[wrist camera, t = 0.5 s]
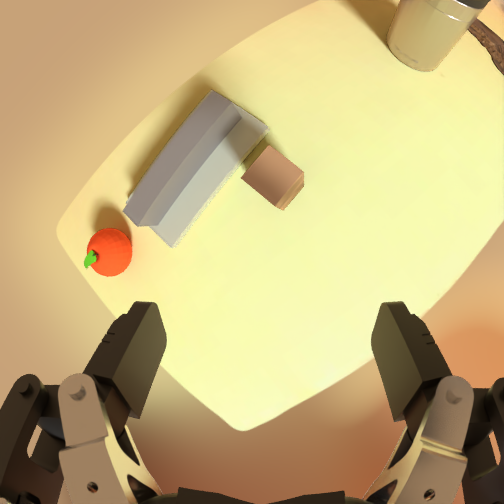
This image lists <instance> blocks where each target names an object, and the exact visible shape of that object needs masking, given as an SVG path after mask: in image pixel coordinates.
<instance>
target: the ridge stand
mask: <svg viewBox="0 0 504 504" xmlns="http://www.w3.org/2000/svg"><path fill="white" fill-rule="evenodd" d="M269 131H270V130H269V127H268V126H267V125H265V124H264V123H262V122H261V121H259V120H258V119H257V118H255V117H254V116H252V115H251V114H249V113H248V112H246V111H245V110H243V109H242V108H240V107H239V106H237V105H236V104H234V103H233V102H231V101H229V100H228V99H226V98H225V97H223V96H222V95H220V94H218V93H217V92H215V91H213V90H212V89H211V90H210V92H209V93H208V94H207V95H206V96H205V97H204V98H203V99H202V100H201V102H200V103H199V104H198V105H197V106H196V107H195V109H194V110H193V111H192V112H191V113H190V114H189V116H188V117H187V118H186V119H185V121H184V122H183V123H182V124H181V125H180V127H179V128H178V129H177V130H176V132H175V133H174V134H173V136H172V137H171V138H170V139H169V141H168V142H167V143H166V145H165V146H164V147H163V149H162V150H161V151H160V153H159V154H158V155H157V157H156V158H155V160H154V161H153V162H152V164H151V165H150V167H149V168H148V170H147V171H146V172H145V174H144V175H143V177H142V178H141V180H140V181H139V183H138V184H137V186H136V187H135V189H134V190H133V192H132V193H131V195H130V197H129V198H128V200H127V201H126V204H127V205H126V207H125V208H124V210H123V212H124V213H125V214H126V215H127V216H128V217H129V218H130V219H131V221H132V222H133V223H134V224H135V225H136V226H137V227H138V226H149V227H150V228H151V229H152V230H153V231H154V232H155V233H156V234H157V235H158V236H159V237H160V238H161V239H162V240H163V241H164V242H165V243H166V244H167V245H168V246H169V247H171V248H174V247H177V245H178V244H179V243H180V241H181V240H182V238H183V237H184V236H185V234H186V233H187V232H188V230H189V229H190V228H191V226H192V225H193V224H194V222H195V221H196V220H197V219H198V217H199V216H200V215H201V213H202V212H203V211H204V209H205V208H206V207H207V206H208V204H209V203H210V202H211V200H212V199H213V198H214V197H215V195H216V194H217V193H218V192H219V190H220V189H221V188H222V187H223V185H224V184H225V183H226V182H227V180H228V179H229V178H230V177H231V176H232V174H233V173H234V172H235V171H236V170H237V168H238V167H239V166H240V165H241V164H242V162H243V161H244V160H245V159H246V158H247V156H248V155H249V154H250V153H251V152H252V151H253V149H254V148H255V147H256V146H257V145H258V144H259V142H260V141H261V140H262V139H263V138H264V137H265V136H266V134H267V133H268V132H269Z"/></svg>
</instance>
